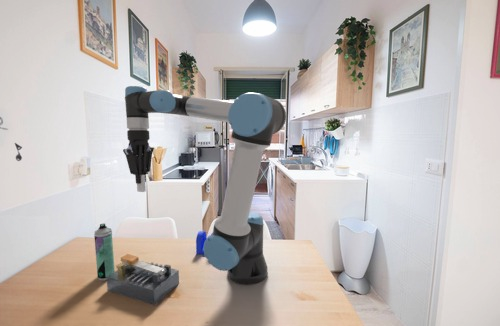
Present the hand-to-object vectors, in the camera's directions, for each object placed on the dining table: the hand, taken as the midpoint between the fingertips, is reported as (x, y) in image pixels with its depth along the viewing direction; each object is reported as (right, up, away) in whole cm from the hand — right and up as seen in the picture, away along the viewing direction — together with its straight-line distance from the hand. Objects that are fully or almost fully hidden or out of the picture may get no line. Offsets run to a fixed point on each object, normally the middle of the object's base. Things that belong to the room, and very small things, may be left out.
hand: (141, 191), depth 95 cm
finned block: (+5, -32, -10) cm, 34 cm away
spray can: (-11, -31, -4) cm, 33 cm away
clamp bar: (+5, -25, -11) cm, 28 cm away
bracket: (+24, -28, +21) cm, 43 cm away
